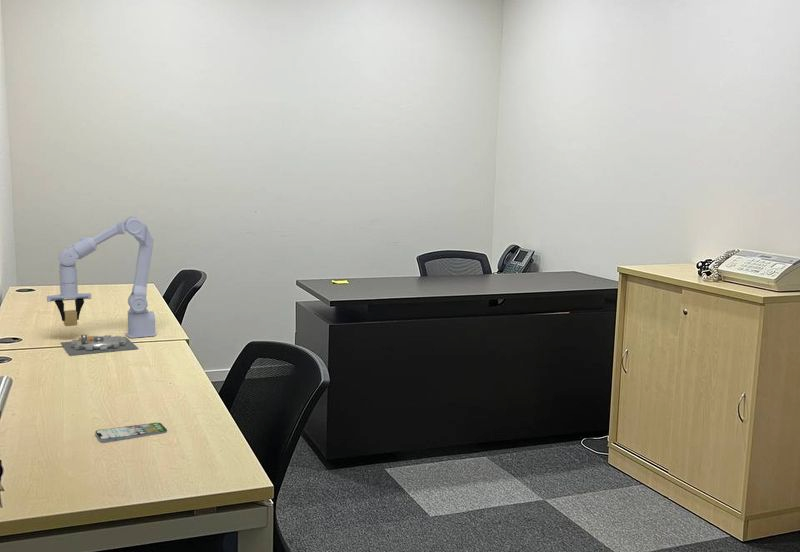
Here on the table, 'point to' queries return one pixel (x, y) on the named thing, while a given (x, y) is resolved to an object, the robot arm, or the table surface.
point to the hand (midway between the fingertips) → (70, 320)
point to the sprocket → (98, 342)
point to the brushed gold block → (70, 318)
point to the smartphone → (129, 432)
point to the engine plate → (73, 351)
